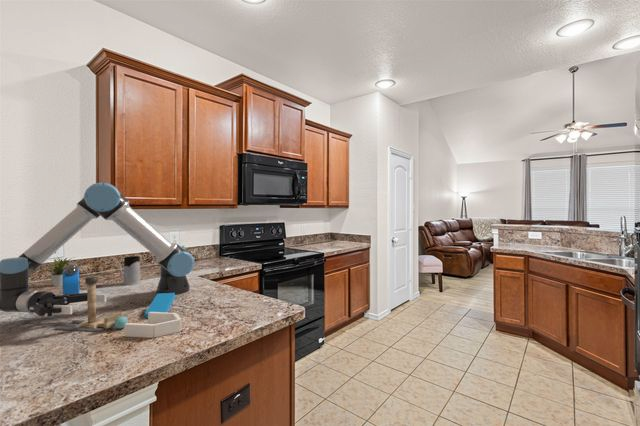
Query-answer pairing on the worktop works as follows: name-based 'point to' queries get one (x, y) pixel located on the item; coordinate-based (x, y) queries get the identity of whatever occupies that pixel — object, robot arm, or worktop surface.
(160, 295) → the blue long block
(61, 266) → the house plant
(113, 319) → the plunger
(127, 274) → the glass holder
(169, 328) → the pocket
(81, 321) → the track
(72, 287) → the alarm clock
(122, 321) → the ball
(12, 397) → the worktop surface
